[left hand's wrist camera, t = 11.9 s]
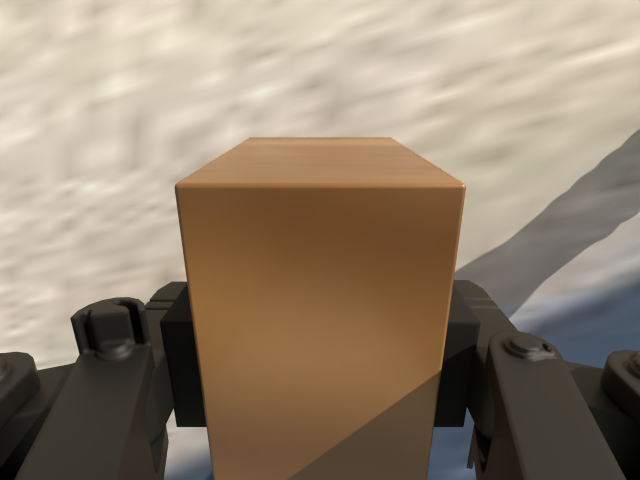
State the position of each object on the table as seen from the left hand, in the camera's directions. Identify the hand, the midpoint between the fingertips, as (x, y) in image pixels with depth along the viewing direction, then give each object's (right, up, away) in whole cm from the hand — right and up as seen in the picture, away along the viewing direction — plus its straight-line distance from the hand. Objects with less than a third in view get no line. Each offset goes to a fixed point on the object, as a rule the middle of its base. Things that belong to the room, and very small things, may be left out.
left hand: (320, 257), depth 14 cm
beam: (0, -30, +12) cm, 33 cm away
